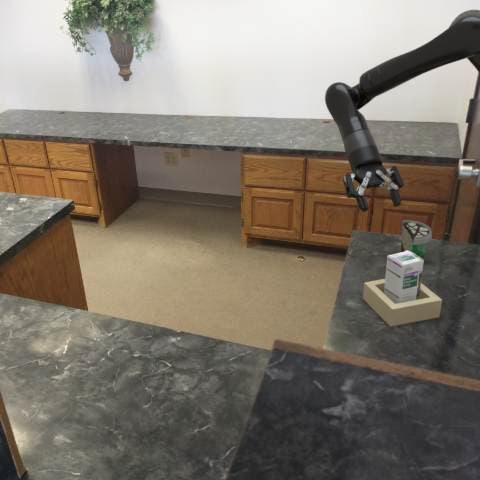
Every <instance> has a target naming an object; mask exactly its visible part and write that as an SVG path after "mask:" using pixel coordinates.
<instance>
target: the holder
mask: <svg viewBox="0 0 480 480" xmlns="http://www.w3.org/2000/svg"><path fill="white" fill-rule="evenodd" d="M384 289H385V278H382V279H377V280H371V281H366V282H364V283H363V293H362V300H363V301H364V302H365V303H366V304H367V305H368V306H369V307H370V308H371V309H373V311H374V312H375V313H376V314H377V315H378V316H379V317H380V318H381V319H382V320H383V321H384V322H385V323H386V324H387V325H388V326H389V327H390V328H391V327H397V326H400V325H408V324H412V323H418V322H422V321H427V320H432V319H438V318H440V316H441V309H442V304H443V299H442V298H441V297H440V296H438V295H437V294H435V293H434V292H433V291H432V290H430V289H429V288H428V287H427V286H426V285H425V284H423V283H422V282H421V287H420V294H419V300H413V301H408V302H403V303H397V304H395V303H394V302H392V301H391V300H390V299H389V298H388V297H387V296H386V295H385V294H384Z"/></svg>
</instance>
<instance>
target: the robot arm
mask: <svg viewBox="0 0 480 480" xmlns="http://www.w3.org/2000/svg"><path fill="white" fill-rule="evenodd" d="M465 59H467V60H468V61H469V62H470V63H471V65H472V66H473V67H474V68H475V69H476V71H477V72H478V74H479V75H480V9H468V10H464V11H463V12H461V13H459V14H458V15H457V16H456V17H455V18H454V19H453V21H452V22H451V23H450V24H449V26H448V28H447V29H445V30H444V31H442V32H441V33H439V34H438V35H436V37H434V38H433V39H431V40H430V41H428V42H426V43H424V44H422V45H421V46H418V47H417V48H415V49H412V50H410V51H407V52H405V53H402V54H399V55H397V56H394V57H391V58H390V59H389V58H388V60H385V61H383V62H382V63H380V64H378V65H377V64H376V66H374V67H371V68H370V69H368V70H366V71H365V72H363V73H362V74H361V75H360V76H359V80H358V83H357V84H355V85H354V86H350V85H349V84H347V83H345V82H341V81H338V82H337V81H336V82H334V83H332V84H330V85H329V86H328V87H327V89H326V91H325V93H324V102H325V106H326V108H327V110H328V112H329V114H330V116H331V117H332V119H333V121H334V123H335V124H336V126H337V128H338V131H339V134H340V137H341V141H342V143H343V148H344V153H345V156H346V157H347V160H348V163H349V166H350V169H351V172H352V173H350V172H346V173H345V174H344V176H342V183H343V187H344V190H345V194H346V196H347V198H348V199H351V198H353V199H355V200H356V202H357V205H358V208H359V210H360V211H361V212H362V213H365V212H367V211H368V210H369V208H370V207H369V204H368V202H367V198H366V195H364V192H365V191H366V190H368V189H371V188H372V189H373V188H379V187H380V188H381V189H382V190H385V191H387V192H388V193H389V197H390V199H391V202H392V205H393V207H394V208H398V207H399V206H400V205H402V197H401V194H400V191H399V190H401V189H402V188H403V187H405V183H404V180H403V178H402V176H401V174H400V172H399V169H398V167H397V166H396V165H392V166H391V167H388V168H385V167H384V165H383V159H382V157H381V154H380V151H379V148H378V146H377V143H376V141H375V138H374V136H373V134H372V132H371V130H370V127H369V124H368V122H367V119H366V117H365V116H364V114H363V113H362V112H360V111H359V110H361V109H362V108H364V107H365V106H366V105H368V104H369V103H370V102H371V101H373V100H374V99H375V98H376V97H378V96H380V95H382V94H385V93H387V92H389V91H391V90H393V89H395V88H397V87H399V86H401V85H403V84H405V83H407V82H409V81H411V80H413V79H416V77H419V76H421V75H424V74H426V73H428V72H431V71H433V70H435V69H438V68H440V67H441V68H442V67H443V66H446V65H449V64H450V65H451V64H453V63H456V62H458V61H463V60H465ZM354 181H356V182H357V183H358V185H357V188H356V189H355V185H354Z"/></svg>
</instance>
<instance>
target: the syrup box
mask: <svg viewBox="0 0 480 480" xmlns="http://www.w3.org/2000/svg"><path fill="white" fill-rule="evenodd" d="M424 262H425V259H424V260H423V259H422V258H420V257H419V256H417V255H416V254H414V253H412V252H410V251H408V250H407V251H405V252H395V253H392V254H388V255H387V256H386V268H385V278H384V279H385V289H384V294H385V295H386V296H387V297H388V298H389V299H390V300H391V301H392V302H394V303H395V304H397V303H403V302H408V301H413V300H419V294H420V287H421V283H422V278H423V272H424V271H423V270H424Z"/></svg>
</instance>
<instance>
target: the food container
mask: <svg viewBox="0 0 480 480" xmlns="http://www.w3.org/2000/svg"><path fill="white" fill-rule="evenodd" d="M401 227H402V228H401V238H400V249H399V253H401V252H405V251H407V250H408V251H410V252H412V253H414V254H416V255H417V256H419V257H420V258H422V259H423V260H424V261H425V257H426V253H427V250H428V245H429V242H430V241H432V239H433V233H432V230H431V229H432V228H431V227H430V226H428V224H425V223H423V222H421V221H417V220H412V219H411V220H410V219H403V220H402V223H401Z"/></svg>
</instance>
